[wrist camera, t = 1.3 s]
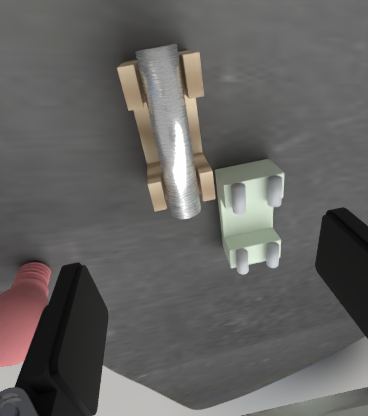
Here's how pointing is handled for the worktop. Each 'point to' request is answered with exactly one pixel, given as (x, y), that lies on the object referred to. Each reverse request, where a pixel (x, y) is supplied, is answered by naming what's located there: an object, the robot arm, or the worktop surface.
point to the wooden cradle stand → (139, 105)
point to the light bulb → (22, 311)
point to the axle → (170, 127)
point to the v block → (249, 212)
